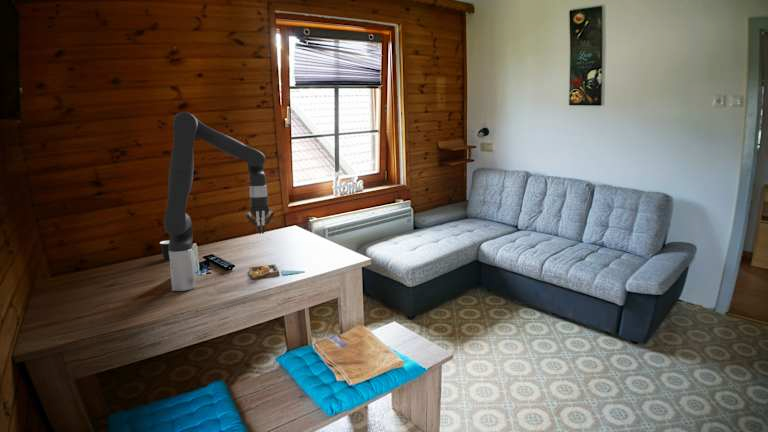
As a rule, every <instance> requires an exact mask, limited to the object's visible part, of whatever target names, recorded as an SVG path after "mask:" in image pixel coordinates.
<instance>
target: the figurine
mask: <svg viewBox="0 0 768 432" xmlns="http://www.w3.org/2000/svg"><path fill="white" fill-rule="evenodd" d="M262 266H263V267H262V268H261V270H259V269H258V270H257V271H253V273H252V274H251V271H252V270H251V271H250V270H249V275H250V276H251V275H252V276H253V277H257V276H262V275H264V274H266V273H267V272H271V268H269V267H268V266H265V265H262ZM261 273H264V274H261Z"/></svg>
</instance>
